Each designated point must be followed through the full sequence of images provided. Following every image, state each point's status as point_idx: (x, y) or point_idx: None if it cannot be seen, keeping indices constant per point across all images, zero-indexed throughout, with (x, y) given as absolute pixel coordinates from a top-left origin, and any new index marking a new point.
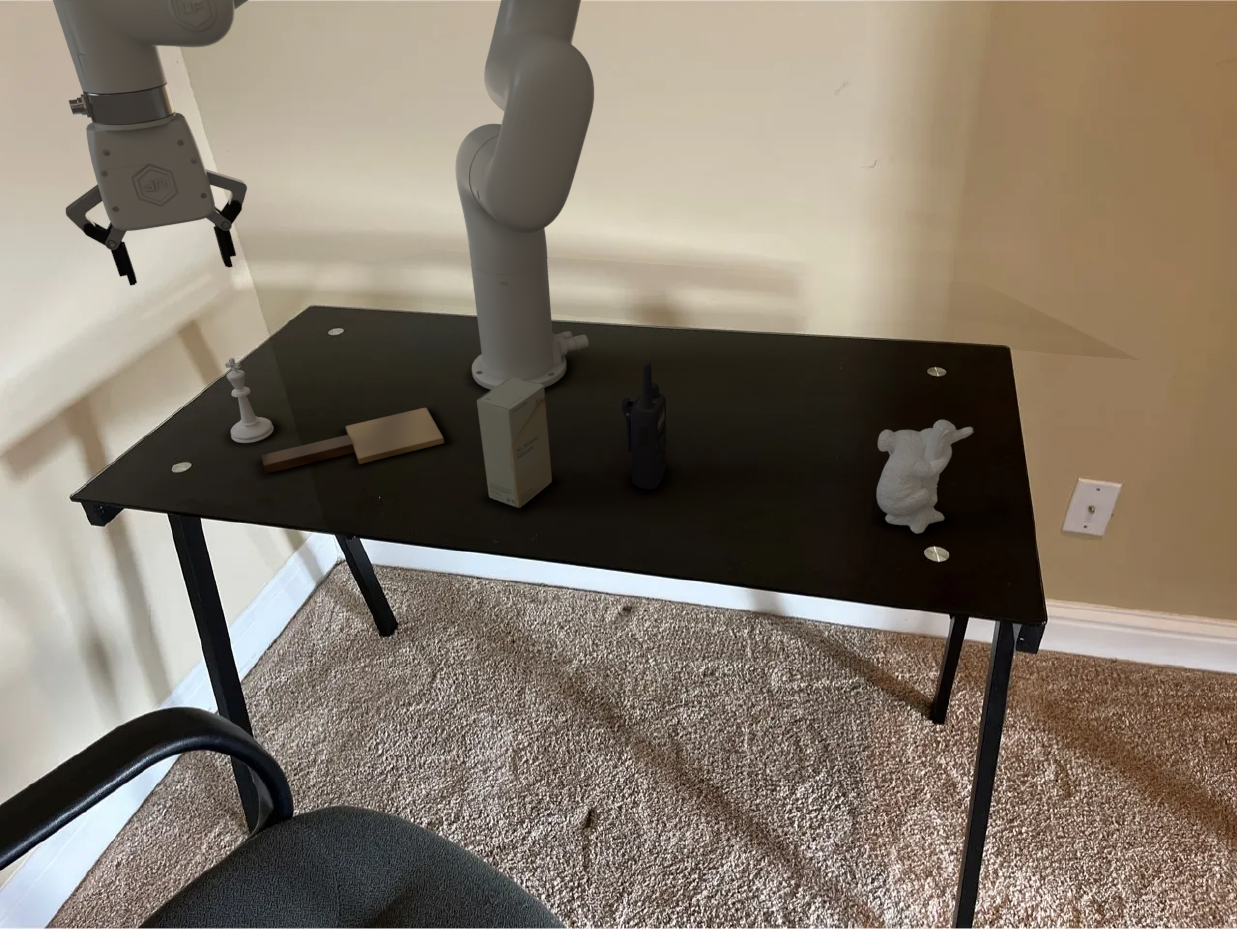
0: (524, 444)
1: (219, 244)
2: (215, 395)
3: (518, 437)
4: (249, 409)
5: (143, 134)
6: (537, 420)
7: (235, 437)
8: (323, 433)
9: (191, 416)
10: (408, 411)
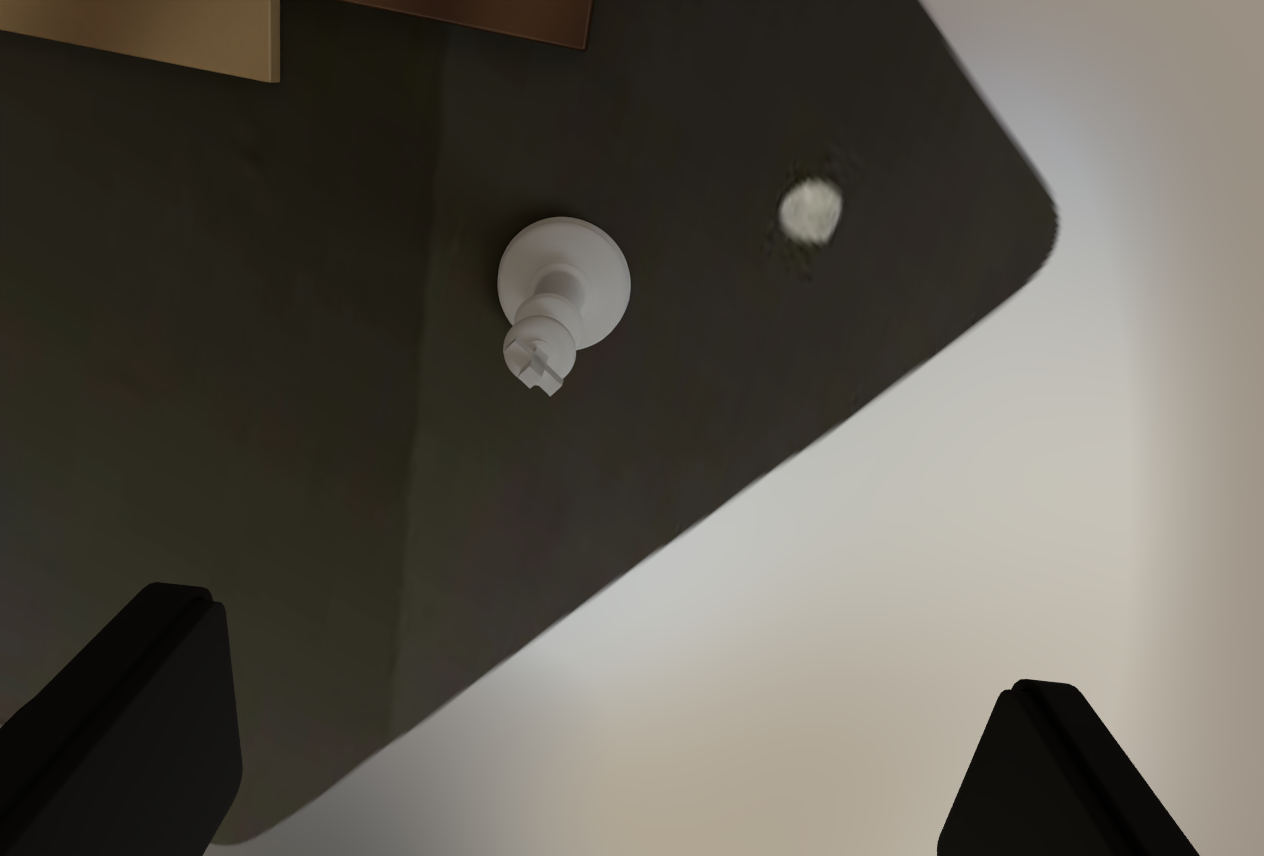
0: None
1: (75, 807)
2: (600, 563)
3: None
4: (545, 290)
5: None
6: None
7: (622, 262)
8: (358, 126)
9: (693, 490)
10: (25, 33)
